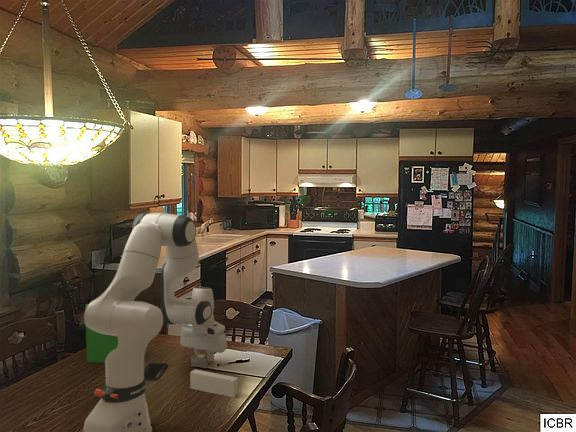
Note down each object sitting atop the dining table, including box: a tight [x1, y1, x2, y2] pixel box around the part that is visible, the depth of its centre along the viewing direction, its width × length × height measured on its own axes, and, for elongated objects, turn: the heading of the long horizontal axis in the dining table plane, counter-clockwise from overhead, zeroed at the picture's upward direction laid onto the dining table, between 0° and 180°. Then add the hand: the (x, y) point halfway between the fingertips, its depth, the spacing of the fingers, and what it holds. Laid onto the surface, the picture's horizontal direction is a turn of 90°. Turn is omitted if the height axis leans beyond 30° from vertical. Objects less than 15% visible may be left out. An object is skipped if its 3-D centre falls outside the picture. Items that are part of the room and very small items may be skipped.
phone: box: [144, 362, 169, 382], centre depth 189 cm, size 8×1×15 cm
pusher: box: [190, 350, 215, 369], centre depth 197 cm, size 9×7×4 cm
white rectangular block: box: [189, 368, 239, 399], centre depth 175 cm, size 9×18×6 cm, turn 66°
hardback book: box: [84, 303, 118, 363], centre depth 202 cm, size 18×7×24 cm, turn 85°
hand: (203, 359), depth 196 cm, fingers closed on pusher, 3 cm apart
